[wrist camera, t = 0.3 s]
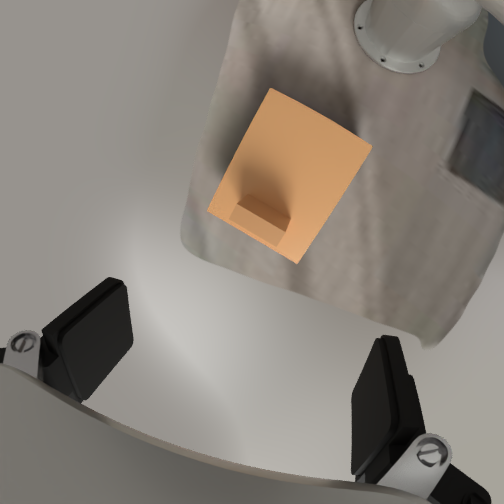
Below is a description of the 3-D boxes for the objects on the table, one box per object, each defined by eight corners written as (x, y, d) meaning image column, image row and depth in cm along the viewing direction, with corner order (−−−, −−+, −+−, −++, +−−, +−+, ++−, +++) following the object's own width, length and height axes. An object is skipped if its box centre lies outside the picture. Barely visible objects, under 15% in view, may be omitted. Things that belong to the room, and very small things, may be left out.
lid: (273, 90, 33) (261, 81, 26) (369, 145, 33) (380, 149, 26) (213, 206, 41) (191, 222, 34) (298, 256, 41) (292, 282, 34)
